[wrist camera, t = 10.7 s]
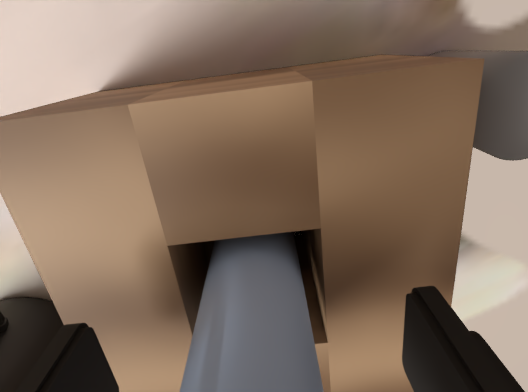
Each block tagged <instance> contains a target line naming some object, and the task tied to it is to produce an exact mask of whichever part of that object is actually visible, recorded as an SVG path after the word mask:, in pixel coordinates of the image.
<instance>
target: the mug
mask: <svg viewBox="0 0 528 392" xmlns="http://www.w3.org/2000/svg"><path fill="white" fill-rule="evenodd" d="M63 325H64V324H63V322H62V320H61V318H60V316H59V314H58V312H57V310H56V307H55V305H54V303H53V302H52V301H48V300H43V299H37V298H13V299H6V300H3V301H0V392H15V391H16V389H17V388H18V387H19V385H20V384H21V382H22V381H23V380H24V378H25V377H26V375H27V374H28V373H29V371H30V370H31V368H32V367H33V366H34V364H35V363H36V361H37V360H38V359H39V357H40V356H41V354H42V353H43V352H44V350H45V349H46V347H47V346H48V345H49V343H50V342H51V340H52V339H53V338H54V336H55V335H56V333H57V332H58V331H59V329H60V328H61V327H62V326H63Z"/></svg>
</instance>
